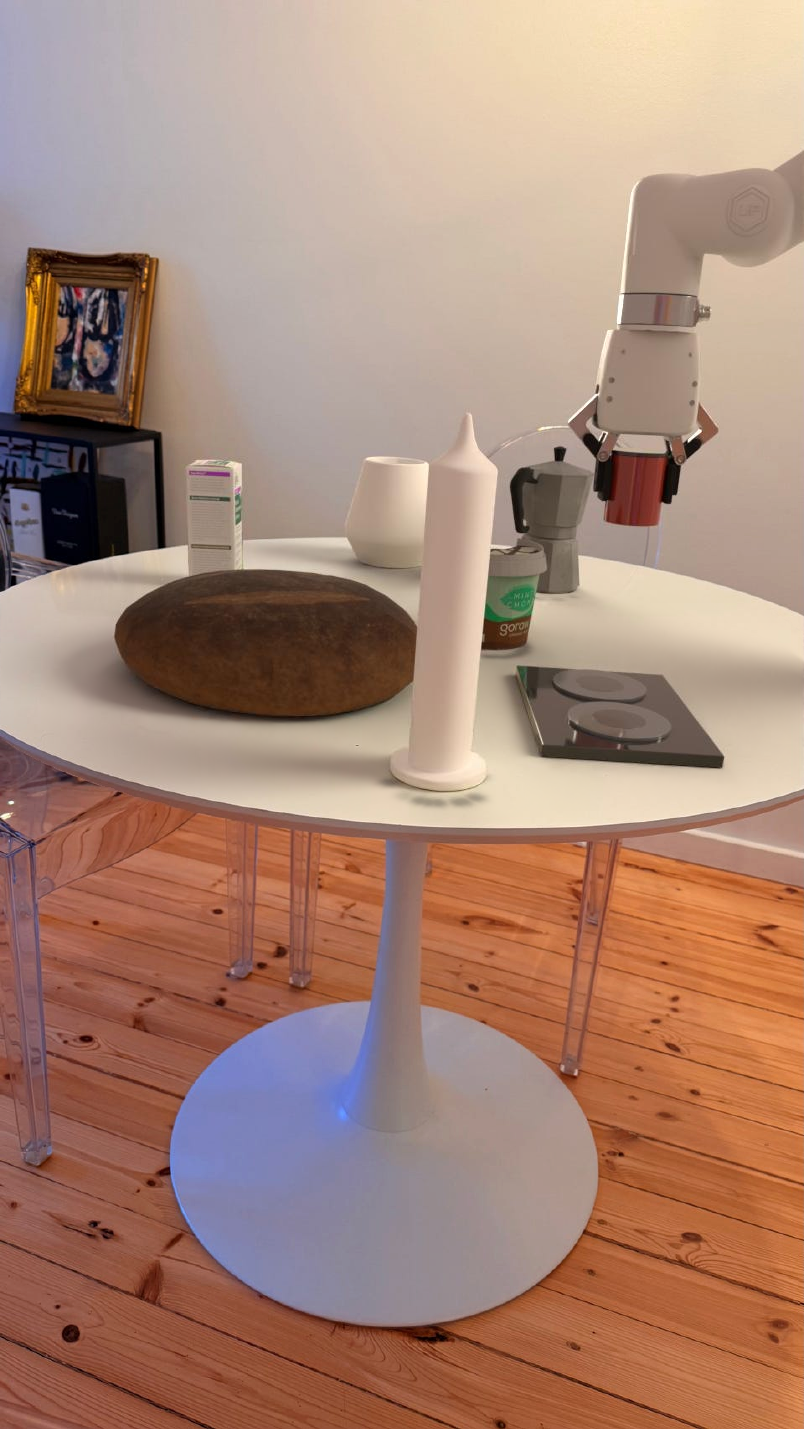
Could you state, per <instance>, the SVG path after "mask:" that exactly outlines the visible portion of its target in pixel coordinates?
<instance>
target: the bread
mask: <svg viewBox="0 0 804 1429" xmlns="http://www.w3.org/2000/svg"><path fill="white" fill-rule="evenodd" d="M113 638H114V641H115V644H116V648H117V649H118V652H119V655H120V657H121V659H122V661H123V662H124V664H125V665H126V666H127V667H128V668H129V669H130V670H132V672H134V674H136V675H137V677H139V678H140V680H142V681H143V682H144V683H146V684H148V685H149V686H151V687H153V688H155V689H157V690H159V691H161V692H162V693H163V692H164V693H165V694H167V695H170V696H173V697H174V698H178V699H179V700H183V701H185V702H188V703H191V704H193V705H196V706H200V707H204V708H208V709H213V710H219V711H227V712H232V713H241V714H247V715H256V716H257V715H258V716H266V717H315V716H316V717H320V716H330V715H331V716H332V715H337V714H343V713H349V712H353V711H357V710H361V709H365V708H368V707H372V706H375V705H378V704H381V703H383V702H385V701H388V700H391V699H393V698H394V697H396V695H398V694H399V693H400V692H402V691H403V690H405V689H406V688H407V687H408V686H409V685H410V684H411V683H413V681H414V667H415V653H416V639H417V624H416V622H415V620H413V618H412V617H411V615H410V614H409V613H408V611H407V610H405V609H404V608H403V607H402V606H400V605H399V604H398V603H397V602H396V601H394V600H393V599H392V598H390V597H389V596H388V595H386V594H384V593H382V592H380V591H378V590H376V589H374V588H373V587H371V586H370V585H368V584H366V583H362V582H359V581H356V580H354V579H350V578H346V577H341V576H337V575H332V574H331V575H330V574H321V573H317V572H308V571H299V570H286V569H265V568H264V569H263V568H260V569H259V568H255V569H254V568H247V569H245V568H243V569H240V570H223V571H214V572H206V573H201V574H197V575H192V576H189V575H188V576H185V577H182V578H178V579H175V580H173V581H170V582H168V583H165V584H164V585H161V586H159V587H157V588H155V589H153V590H151V591H149V592H147V593H146V594H144V595H143V596H141V597H139V598H138V599H137V600H136V601H134V602H133V603H131V604H129V605H128V606H127V607H126V608H125V609H124V611H123V612H122V613H121V614H120V616H119V617H118V619H117V621H116V623H115V628H114V636H113Z"/></svg>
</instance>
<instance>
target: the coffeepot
mask: <svg viewBox="0 0 804 1429" xmlns="http://www.w3.org/2000/svg"><path fill="white" fill-rule="evenodd" d="M567 449H568V448H566V447H564V446H561V445H559V446H555V447H553V458H554V460H552V461H547V462H541V463H537V464H532V465H531V464H530V465H527V466H524V467H523V466H522V467H520V468H518V469H517V470H516V472H515V473H514V475H513V476H512V478H511V479H510V482H509V492H510V498H511V507H512V515H513V522H514V530H515V532H516V533H517V534H521V535H522V536H521V538H520V539H524V540H529V541H532V542H535V543H537V544H540V545H541V546H542V547H543V548H544V553H545V555H546V564H547V570H546V571H545V572H543V573H540V575H539V580H538V585H537V590H536V593H542V594H543V593H546V594H569V593H573V592H575V591H577V589H578V587H580V566H579V564H580V563H579V561H580V560H579V540H578V539H577V538H576V537H577V532H578V526H579V525H581V523H582V521H583V517H584V514H585V511H586V510H585V509H586V506H587V503H588V499H589V495H590V491H591V488H592V483H593V482H594V474H595V472H593V471H591V470H589V469H585V468H583V467H579V466H577V465H574V464H571V463H568V462H566V461H564V460H565V456H566V454H567ZM524 521H525V524H524Z"/></svg>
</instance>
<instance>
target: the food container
mask: <svg viewBox="0 0 804 1429" xmlns="http://www.w3.org/2000/svg"><path fill="white" fill-rule="evenodd" d="M546 570H547V564H546V555H545V553H544V548H543V547H542V546H541V545H540V544H537V543H535V542H532V541H529V540H524V539H521V538H519V537H517V539H516V544H515V546H512V547H509V548H491V549H490V560H489V570H488V581H487V591H486V602H485V612H484V622H483V633H482V643H481V650H495V651H496V650H498V651H499V650H511V649H512V650H513V649H516V648H521V647H523V646H525V645H526V644H527V641H528V637H529V631H530V626H531V622H532V615H533V610H534V605H535V600H536V596H537V592H536V590H537V585H538V580H539V575H540V573H543V572H545V571H546Z"/></svg>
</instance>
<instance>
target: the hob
mask: <svg viewBox="0 0 804 1429" xmlns="http://www.w3.org/2000/svg"><path fill="white" fill-rule="evenodd" d="M515 668H516V669H515V677H516V680H517V684H518V687H519V690H520V693H521V696H522V699H523V702H524V705H525V709H526V712H527V715H528V719H529V721H530V725H531V728H532V732H533V734H534V737H535V741H536V744H537V748H538V750H539V754H540V756H541V757H543V758H544V757H548V758H559V759H560V758H561V759H562V758H563V759H575V760H576V759H579V760H593V761H607V762H608V761H610V762H622V763H623V762H624V763H640V764H641V763H642V764H654V765H655V764H657V765H670V766H671V765H673V766H687V767H688V766H689V767H703V768H720V769H721V768H723V766H724V761H725V755H724V754H723V752H722V750H720V748H719V747H718V746H717V745H716V743H715V742H714V741H713V739H712V737H710V736H709V733H707V731H706V730H705V728H704V727H703V726H702V725H701V724H700V722H699V720H698V719H697V718H696V717H695V715H694V714H693V713H692V712H691V710H690V709H689V708H688V707H687V705H686V704H685V702H684V701H683V699H682V698H681V697H680V696H679V695H678V693H677V692H676V690H675V689H674V687H673V686H672V685H671V684H670V683H669V681H668V680H667V678H666V677H665V676H664V675H663V674H654V673H642V672H640V673H639V672H623V671H609V670H601V669H600V670H599V669H590V668H589V669H588V668H587V669H586V668H581V669H580V668H579V669H577V668H563V667H562V668H561V667H548V666H547V667H546V666H533V665H531V666H530V665H516V667H515Z"/></svg>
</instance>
